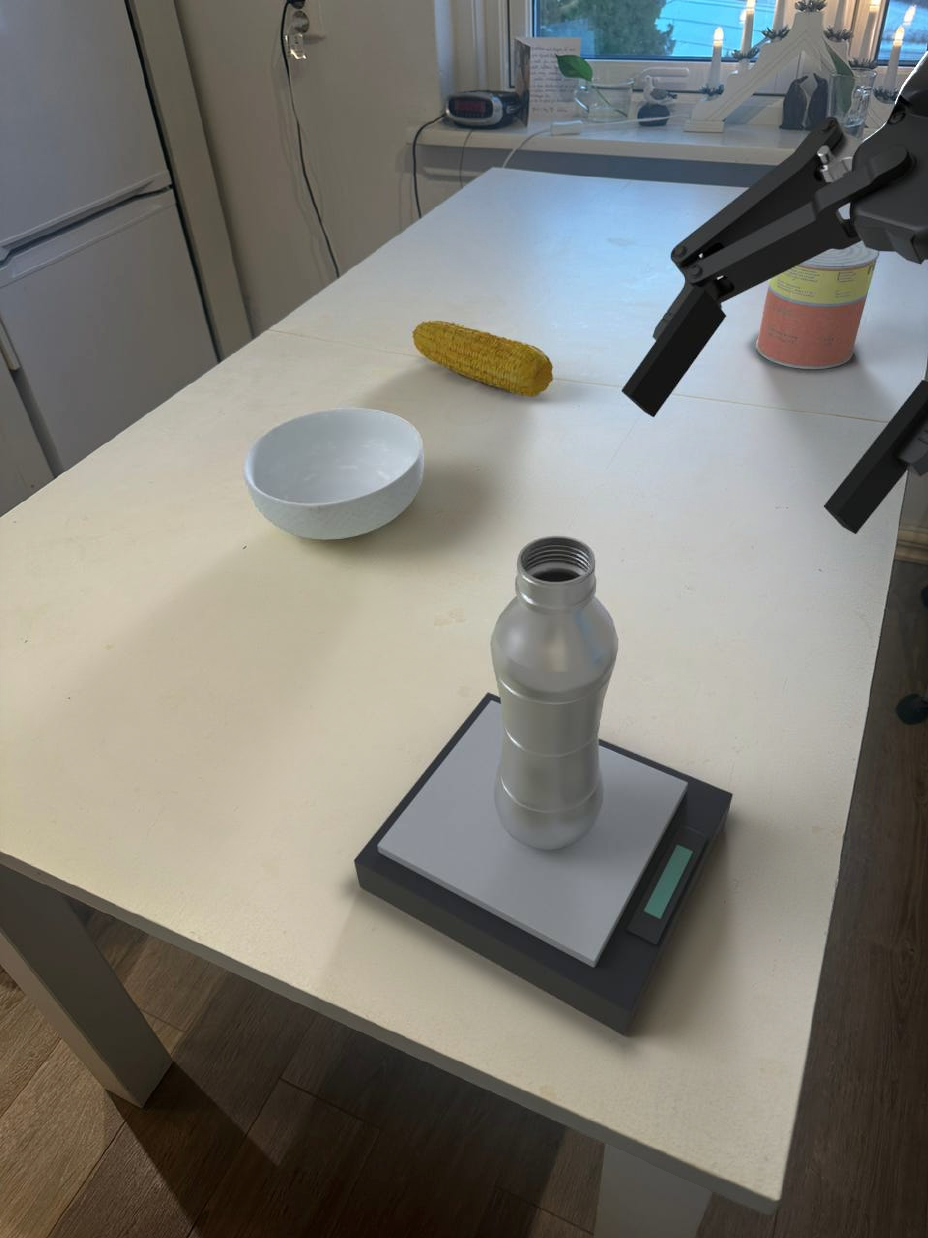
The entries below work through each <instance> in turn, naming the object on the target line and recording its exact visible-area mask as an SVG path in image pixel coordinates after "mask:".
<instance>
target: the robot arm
mask: <svg viewBox="0 0 928 1238" xmlns="http://www.w3.org/2000/svg"><path fill="white" fill-rule="evenodd" d="M848 172H849V173H848ZM846 173H847V174H846ZM844 174H845V175H844ZM848 204H849V210H848V215H849V218H844V217H843V216H842V214H841V213H840V211H839V209H841V208H843V207H845V206H846V205H848ZM860 241H863V243H864V245H865V247H867V248H870V249H873V250H876V251H879V252H888V253H889V252H891V253H892V252H893V253H896V254H898V255H899V256H900V257H902V258H903V259H905V260H906V261H908V262H911V263H915V264H917V265H920V266H921V265H922V263H924V262H925V261H928V50H927V51H926V52H925V54H924V55H923V56H922V58H921V59H920V61H919V62H918V63H917V65H916V66H915V68H914V69H913V70H912V72H911V73H910V75H909V76H908V77H907V78H906V80H905V82H904V83H903V85H902V86H901V89H900V90H899V92H898V96H897V98H896V100H895V103H894V106H893V108H892V111H891V113H890V114H889V117H888V118H887V120H886V121H885V123H884V124H883V125H882V126H881V127H880V128H879V129H877V130H876V131H875V132H874V133H873V134H871V135H869V136H867V138H866V139H862V138H859V137H857V136H855V135H852V134H849V133H848V132H847V133H846V132H844V130H843V128H842V126H841V124H840V122H839V119H838V118H837V117H835V116H826V117H824V118H823V119H821V120H820V121H818V123H816V124H815V126H814V127H813V128H812V130H811V131H809V133H808V135H807V136H806V137H805V138H803V141H802V142H801V143H800V144H799V145H798V147H796V149H794V151H793V153H792V154H790V155H789V156H788V157H786V158H785V159H784V160H783V161H781V162H780V163H779V164H777V166H775V167H774V168H772V169H771V170H770V171H769V172H767V173H766V174H765V175H764V176H762V177H761V178H760V179H759V180H757V181H756V182H755V183H754V184H752V185H751V186H749V187H748V188H747V189H746V190H745V191H743V192H742V193H741V194H740V195H738V196H737V197H735V198H734V199H733V200H732V201H731V202H729V203H728V204H727V205H726V206H725V207H723V208H722V209H720V210H719V211H718V212H716V214H714V215H713V216H712V217H710V218H709V219H708V220H707V221H705V222H704V223H703V224H701V225H700V226H699V227H698V228H696V229H695V230H694V231H693V232H691V233H690V234H689V235H687V236H686V237H685V238H684V239H683V240H681V241H680V242H678V243H677V244H676V245H675V247H673V249H672V250H671V252H670V260H671V261H672V263H673V264H674V265H675V266H676V268H677V269H678V270H679V272H680V273H681V274H682V276H683V277H684V283H683V287H682V289H681V290H680V292H679V293H678V295H677V296H676V297H675V299H674V300H673V301H672V303H671V305H670V306H669V307H668V309H667V310H666V312H665V313H664V314H663V316H662V318H661V319H660V320H659V322H658V323H657V324H656V326H655V328H654V331H653V332H652V333H653V334H652V336H651V337H652V339H654V340H655V342H654V343H653V345H652V346H651V347H650V349H649V350H648V351H647V353H646V354H645V356H644V358H643V359H642V360H641V362H640V363H639V365H638V366H637V367H636V369H635V371H634V372H633V373H632V374H631V376H630V377H629V379H628V380H627V382H626V383H625V384H624V386H623V387H622V389H621V390H620V392H622V394H624V395H625V396H626V397H627V398H628V399H629V400H630V401H631V402H632V403H633V404H635V405H636V406H637V407H638V408H639V409H640V410H642V412H644V413H645V414H647V415H649V416H650V417H652V418H655V417H656V415H657V414H658V412H659V411H660V410H661V408H662V407H663V406H664V404H665V403H666V401H667V400H668V399H669V397H670V396H671V394H672V393H673V392H674V390H675V389H676V387H677V386H678V385H679V384H680V382H681V381H682V379H683V377H684V376H685V375H686V373H687V372H688V371H689V369H690V368H691V366H692V365H693V364H694V362H695V361H696V359H697V358H698V357H699V355H700V354H701V353H702V351H703V350H704V348H705V347H706V345H707V343H709V341H710V340H711V338H712V337H713V336H714V334H715V333H716V331H717V330H718V329H719V327H720V326H721V324H722V323H723V322H724V320H725V319H726V318H727V315H726V313H725V312H724V310H723V305H722V303H724V302H727V301H728V300H731V299H732V298H734V297H737V296H739V295H741V294H742V293H743V294H744V293H745V292H747V291H749V290H751V289H753V288H754V287H757V286H759V285H761V284H763V283H766V282H767V281H769V279H771V278H773V277H775V276H777V275H779V274H781V273H783V272H785V271H787V270H789V269H791V268H793V267H795V266H797V265H799V264H801V263H803V262H805V261H807V260H809V259H811V258H813V257H815V256H817V255H819V254H821V253H823V252H825V251H827V250H830V249H837V250H843V249H845V248H848V247H850V246H852V245H854V244H856V243H858V242H860ZM700 255H701V256H700ZM907 471H908V473H909V472H910V473H911V474H913V475H916V476H917V477H919V478H922V476H924V475H926V474H927V473H928V381H927V380H924V379H921V380H920V382H919V383H918V385H916V387H915V388H914V390H913V391H912V392H911V394H910V395H909V396H908V397H907V399H906V400H905V401H904V402H903V404H902V405H901V406H900V407H899V409H898V410H897V411H896V412H895V414H894V415H893V416H892V418H891V419H890V420H889V422H888V423H887V424H886V426H885V427H884V428H883V430H882V431H881V432H880V433H879V434H878V436H877V437H876V438H875V439H874V441H873V442H872V443H871V445H870V446H869V447H868V448H867V450H866V451H865V452H864V453H863V455H862V456H861V458H860V459H859V460H858V461H857V462H856V464H855V465H854V466H853V467H852V469H851V470H850V471H849V473H848V474H847V475H846V476H845V478H844V479H843V480H842V482H841V483H840V484H839V486H838V487H837V488H836V489H835V491H834V492H833V493H832V494H831V496H830V497H829V498H828V499H827V501H826V502H825V504H824V505H823V508H824V509H825V510H826V511H827V512H828V513H829V514H830V515H831V516H832V518H834V520H835V521H836V522H837V523H838V524H839V525H840V526H841V527H842V528H844V529H846V530H847V531H849V532H850V533H852V534H854V535H857V534H858V533H859V531H860V530H861V529H862V527H863V526H864V525H865V524H866V522H867V521H868V520H869V519H870V517H871V516H873V514H874V513H875V511H876V510H877V508H878V507H879V506H880V505H881V503H883V502H884V500H885V498H886V497H888V495H889V494H890V492H891V491H892V490H893V488H894V487H895V486H896V485H897V483H898V482H899V481H900V479H901V478H902V477H903V476H904V475H905V473H906V472H907Z"/></svg>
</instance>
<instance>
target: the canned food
mask: <svg viewBox="0 0 928 1238" xmlns="http://www.w3.org/2000/svg"><path fill="white" fill-rule="evenodd" d="M879 257H880V251H876V250H873V249H870V248H867V247H865V245H864V243H863V241H860V242H858V243H856V244H854V245H852V246H850V247H848V248H845V249H843V250H837V249H830V250H827V251H825V252H823V253H821V254H819V255H817V256H815V257H813V258H811V259H809V260H807V261H805V262H803V263H801V264H799V265H797V266H795V267H793V268H791V269H789V270H787V271H785V272H783V273H781V274H779V275H777V276H775V277H773V278H771V279H769V280H768V283H767V287H766V288H767V289H766V294H765V298H764V299H765V300H764V304H763V310H762V313H761V314H762V315H761V320H760V326H759V331H758V336H757V340H756V343H755V349H756V351H757V352H758V353H759V354H760V355H761V356H762V357H763V358H764V359H766V360H768V361H770V362H772V363H775V364H777V365H781V366H783V367H784V366H785V367H788V368H793V369H799V370H800V369H801V370H824V369H825V370H826V369H831V368H836V367H838V366H841V365H844V364H845V363H847V362H849V361H850V360H851V358H852V357H853V354H854V347H855V342H856V339H857V336H858V331H859V328H860V325H861V320H862V317H863V313H864V310H865V306H866V302H867V299H868V295H869V290H870V288H871V287H870V286H871V283H872V279H873V275H874V272H875V268H876V265H877V262H878V261H877V260H878V258H879Z"/></svg>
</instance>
